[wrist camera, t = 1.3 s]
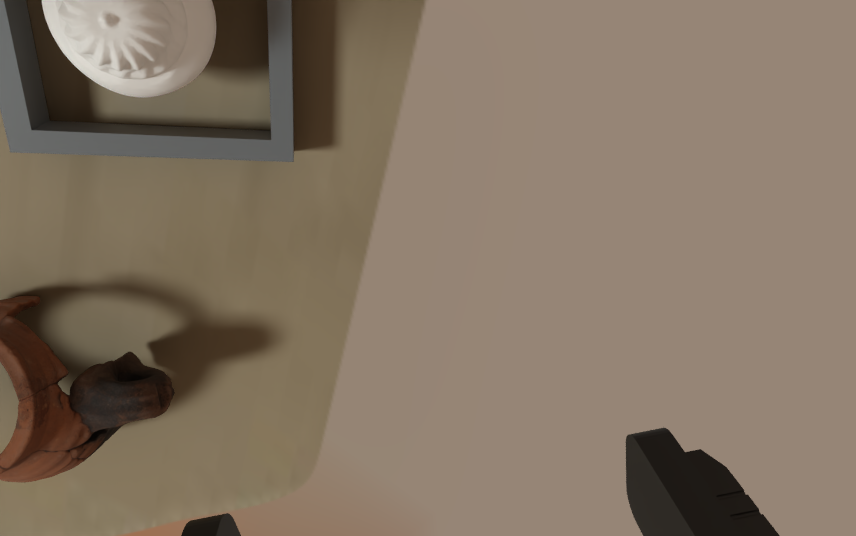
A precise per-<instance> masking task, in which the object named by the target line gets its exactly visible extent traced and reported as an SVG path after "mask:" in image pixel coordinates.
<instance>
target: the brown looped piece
mask: <svg viewBox="0 0 856 536" xmlns="http://www.w3.org/2000/svg"><path fill="white" fill-rule="evenodd" d="M39 303H40V297H37V296H18V297H14V298H10V299H4V300H0V362H1V363H2V365H3V366H4V368H5V369H6V371H7V372H8V374H9V376H10V378H11V380H12V382H13V385H14V388H15V391H16V394H17V397H18V399H19V405H18V419H17V423H16V428H15V431H14V433H13V436H12V438H11V440H10V442H9V444H8V445H7V447H6V448H5V450H4V451H3V452H2V453H1V454H0V479H1V480H2V481H8V482H10V481H11V482H31V481H36V480H40V479H44V478H49V477H52V476H55V475H57V474H59V473H62V472H65V471H68V470H70V469H72V468H74V467H76V466H77V465H79V464H80V463H82V462H83V461H84V460H86V459H87V458H88V457H89V456H91V455H92V454H93V453H94V452H95V451H96V450H97V449H98V448H99V447H100V446H101V445H102V444H103V443H104V442H105V441H107V440H108V439H109V438H110V437H111V436H112V435H113V434H114V433H115V432H116V431H117V430H118V429H119V428H120V427H121V426H123V425H124V424H126V423H128V422H132V421H137V420H142V419H147V418H155V417H157V416H159V415H161V414H163V413H164V412H165V411H166V410H167V409H168V407H169V404H170V401H171V399H172V397H173V395H174V389H173V387H172V382H171V379H170V378H169V377H168V376H167V375H166V374H165V373H164V372H162V371H160V370H158V369H155V368H150V367H147V366H144V365H143V364H142V363H141V362H140V360H139V359H138V357H137V356H136V355H135V354H134V353H132V352H127V353H126V354H124V355H123V356H122V357H120V358H118V359H117V360H115V361H108V362H106V363H104V364H97V365H94V366H92V367H90V368H88V369H87V370H86V371H85V372H84V373H82V374H81V375H80V376H78V377H77V378H76V380H75V381H74V382H73V384H72V386H71V388H70V395H67V394H65V393H64V392H63V391H62V390H61V388H60V387H59V385H58V382H59V381H60V380H62V378H64V377H66V376H67V375H68V373H69V372H68V370H67V368H66V367H65V366H64V365H63V364H62V363H61V361H60V360H59V359H58V358H57V356H56V355H55V354H54V353H53V351H52V350H51V349H50V347H49V346H48V345H47V344H46V343H45V342H43V341H42V340H41V339H40V338H38V337H37V336H36V335H35V333H34V332H33V331H32V330H31V329H30V328H29V327H28V326H26V325H25V324H24V323H22V322H21V321H19V320H17V319H15V318H14V317H15V316H16V315H17V314H18V313H20V312H21V311H23V310H26V309H28V308H30V307H34V306H37V305H38V304H39Z"/></svg>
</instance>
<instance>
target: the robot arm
mask: <svg viewBox="0 0 856 536" xmlns="http://www.w3.org/2000/svg"><path fill="white" fill-rule="evenodd" d="M626 484H627V495H628V500H629V504H630V507H631V510H632V513H633V515H634V518H635V520H636V522H637V524H638V526H639V528H640V530H641V532H642V534H643V536H779V534H778V533H777V532H776V531H775V529H774V528H773V527H772V525H771V524H770V523H769V522H768V520H767V519H766V518H765V517H764V515H763V514H762V515H761V514H760V512H759V509H758V508H757V506H756V505H755V504H754V502H753V501H752V500H751V498H750V497H749V496H748V495H745V492H744V489H743V488H742V487H741V486H740V484H739V483H738V482H737V480H736V479H735V478H734V476H733V475H732V474H731V473H730V471H729V470H728V469H727V467H725V466H724V465H723V464H721V463H720V462H718V461H717V460H715V459H714V458H712V457H711V456H709V455H708V454H706V453H705V452H704V451H702V450H701V449H700V450H695V451H690V452H684V450H683V449H682V448H681V446H680V445H679V443H678V442H677V440H676V439H675V438H674V436H673V435H672V434H671V432H670V431H669V430H668V429H666V428H661V429H655V430H650V431H646V432H640V433H635V434H631V435H628V436H627V438H626ZM181 536H241V535H240V532H239V530H238V528H237V526H236V523H235V521H234V519H233V517H232V516H231V515H230V514H228V513H227V514H222V515H217V516H212V517H207V518H202V519H197V520H192V521H189V522H188V523H187V524H186V526H185V528H184V530H183V532H182V535H181Z"/></svg>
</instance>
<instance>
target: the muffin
mask: <svg viewBox="0 0 856 536" xmlns="http://www.w3.org/2000/svg"><path fill="white" fill-rule="evenodd" d="M42 6H43V11H44V15H45V19H46V22H47V24H48V27H49V29H50V31H51V34H52V36H53V37H54V39H55V41H56V43H57V44H58V46H59V47H60V49H61V50H62V52H63V53H64V54H65V56H66V57H67V58H68V59H69V60H70V62H71V63H72V64H73V65H74V66H75V67H76V68H78V69H79V70H80V71H81V72H82V73H83V74H85V75H86V76H87V77H89V78H90V79H91V80H93V81H94V82H96V83H98V84H99V85H101V86H103V87H105V88H107V89H109V90H111V91H114V92H116V93H119V94H122V95H126V96H132V97H155V96H161V95H164V94H168V93H171V92H173V91H176V90H178V89H181V88H182V87H184V86H186V85H188V84H189V83H190V82H192V81H193V80H194V79H195V78H196V77H197V76H198V75H199V74H200V73H201V72H202V71H203V70H204V68H205V67H206V65H207V63H208V62H209V60H210V57H211V55H212V52H213V49H214V45H215V39H216V16H215V10H214V6H213V2H212V0H42Z"/></svg>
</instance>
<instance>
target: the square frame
mask: <svg viewBox="0 0 856 536" xmlns="http://www.w3.org/2000/svg"><path fill="white" fill-rule="evenodd" d="M267 14H268V47H269V80H270V113H271V131H266V130H244V129H222V128H200V127H178V126H156V125H133V124H111V123H89V122H67V121H50V120H49V115H48V110H47V104H46V99H45V94H44V89H43V84H42V79H41V74H40V69H39V64H38V58H37V53H36V48H35V43H34V38H33V33H32V28H31V23H30V18H29V12H28V7H27V2H26V0H0V109H1V114H2V118H3V122H4V127H5V131H6V135H7V140H8V144H9V148H10V152H19V153H48V154H78V155H107V156H137V157H166V158H196V159H225V160H255V161H284V162H293V161H294V109H293V33H292V0H267Z"/></svg>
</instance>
